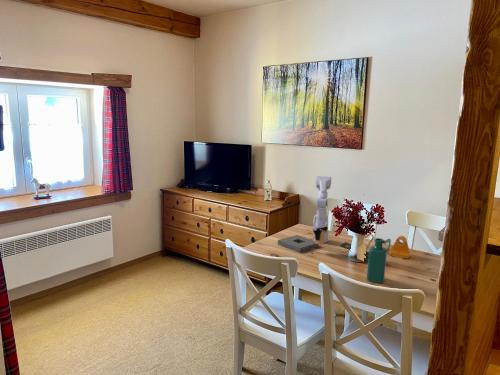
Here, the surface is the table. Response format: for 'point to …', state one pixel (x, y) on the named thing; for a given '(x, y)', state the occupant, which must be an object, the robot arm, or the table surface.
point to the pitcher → (377, 261)
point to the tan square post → (321, 238)
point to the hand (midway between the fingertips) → (319, 239)
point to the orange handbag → (400, 248)
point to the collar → (298, 243)
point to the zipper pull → (350, 248)
